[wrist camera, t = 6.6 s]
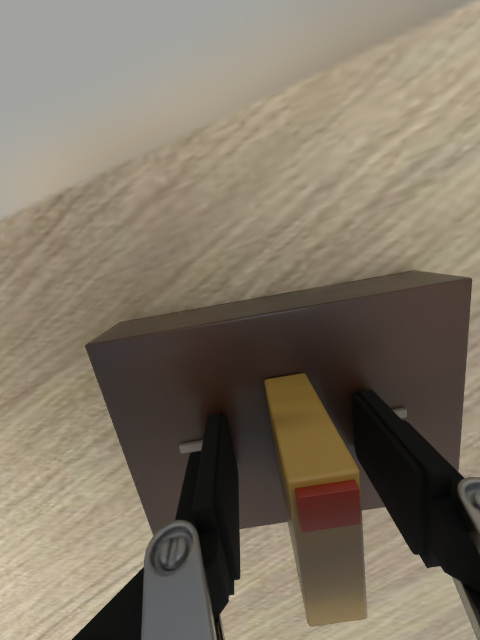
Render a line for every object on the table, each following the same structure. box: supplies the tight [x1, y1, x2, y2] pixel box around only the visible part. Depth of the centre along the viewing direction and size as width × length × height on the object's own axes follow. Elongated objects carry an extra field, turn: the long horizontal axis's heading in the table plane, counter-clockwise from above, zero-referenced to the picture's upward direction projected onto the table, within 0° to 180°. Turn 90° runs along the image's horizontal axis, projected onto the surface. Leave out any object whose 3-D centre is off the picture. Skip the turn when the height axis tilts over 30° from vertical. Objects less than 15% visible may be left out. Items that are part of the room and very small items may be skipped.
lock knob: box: [264, 373, 367, 626], centre depth 8 cm, size 5×2×5 cm, turn 10°
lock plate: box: [85, 271, 472, 536], centre depth 12 cm, size 14×10×3 cm
